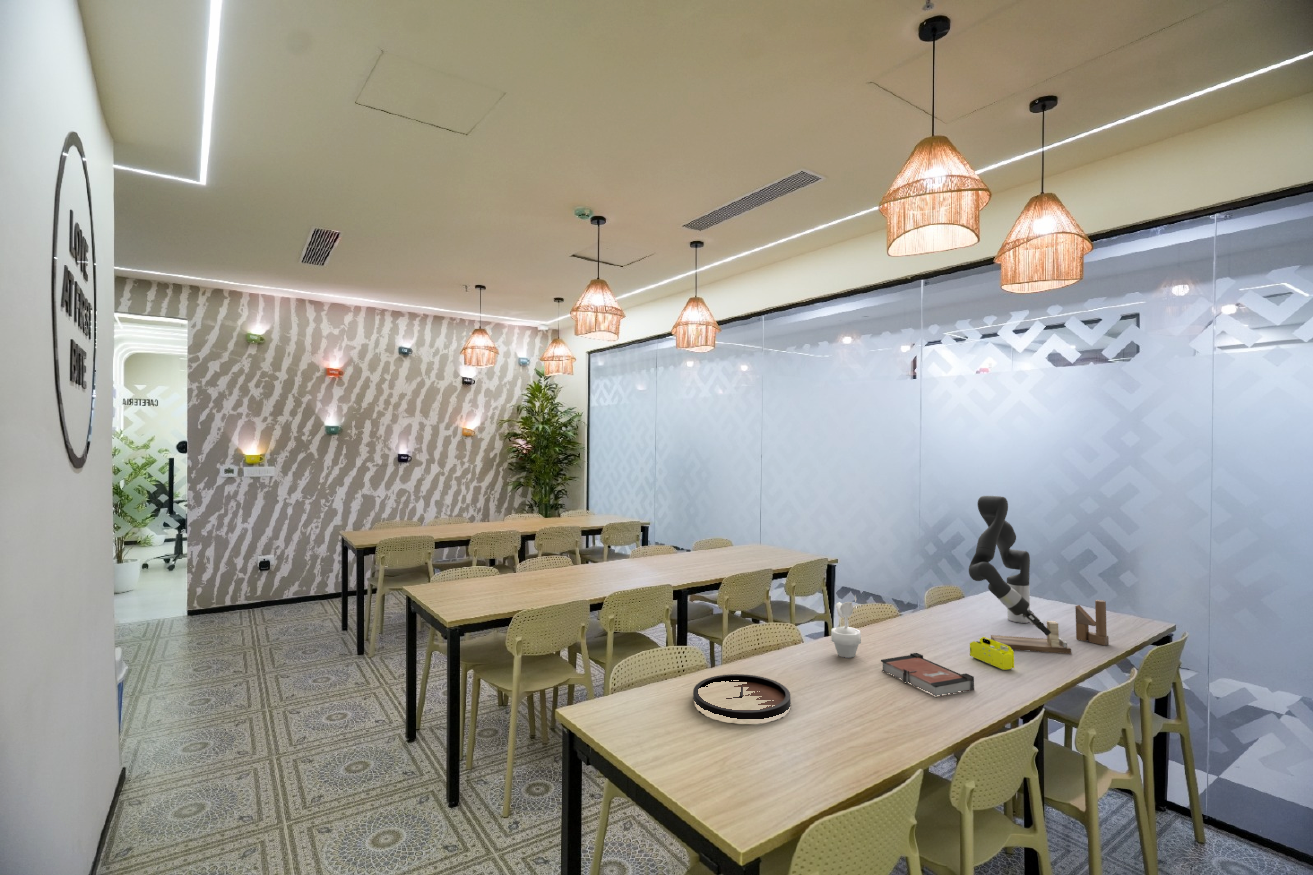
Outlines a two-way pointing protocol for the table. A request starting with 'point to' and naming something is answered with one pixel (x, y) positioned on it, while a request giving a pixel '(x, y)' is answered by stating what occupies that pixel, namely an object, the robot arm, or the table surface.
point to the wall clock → (755, 683)
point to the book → (927, 675)
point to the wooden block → (1092, 624)
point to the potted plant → (846, 632)
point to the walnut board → (1032, 644)
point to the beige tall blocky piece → (1053, 634)
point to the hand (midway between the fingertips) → (1045, 630)
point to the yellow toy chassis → (993, 653)
